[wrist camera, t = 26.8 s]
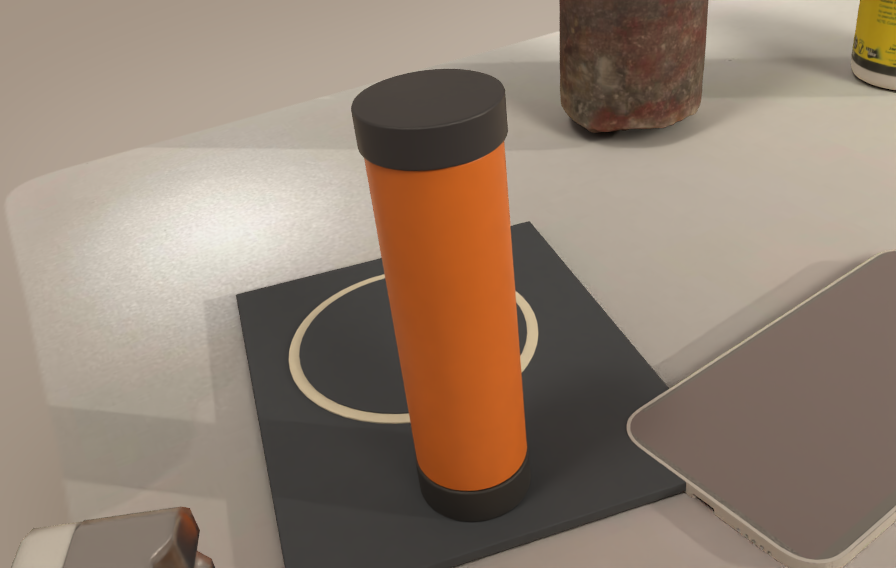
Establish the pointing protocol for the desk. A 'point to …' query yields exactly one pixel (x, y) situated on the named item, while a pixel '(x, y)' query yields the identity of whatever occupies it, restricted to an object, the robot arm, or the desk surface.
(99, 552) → the robot arm
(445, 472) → the marker
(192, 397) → the desk surface
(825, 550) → the smartphone
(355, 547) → the pad
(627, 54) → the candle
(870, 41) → the pill bottle
